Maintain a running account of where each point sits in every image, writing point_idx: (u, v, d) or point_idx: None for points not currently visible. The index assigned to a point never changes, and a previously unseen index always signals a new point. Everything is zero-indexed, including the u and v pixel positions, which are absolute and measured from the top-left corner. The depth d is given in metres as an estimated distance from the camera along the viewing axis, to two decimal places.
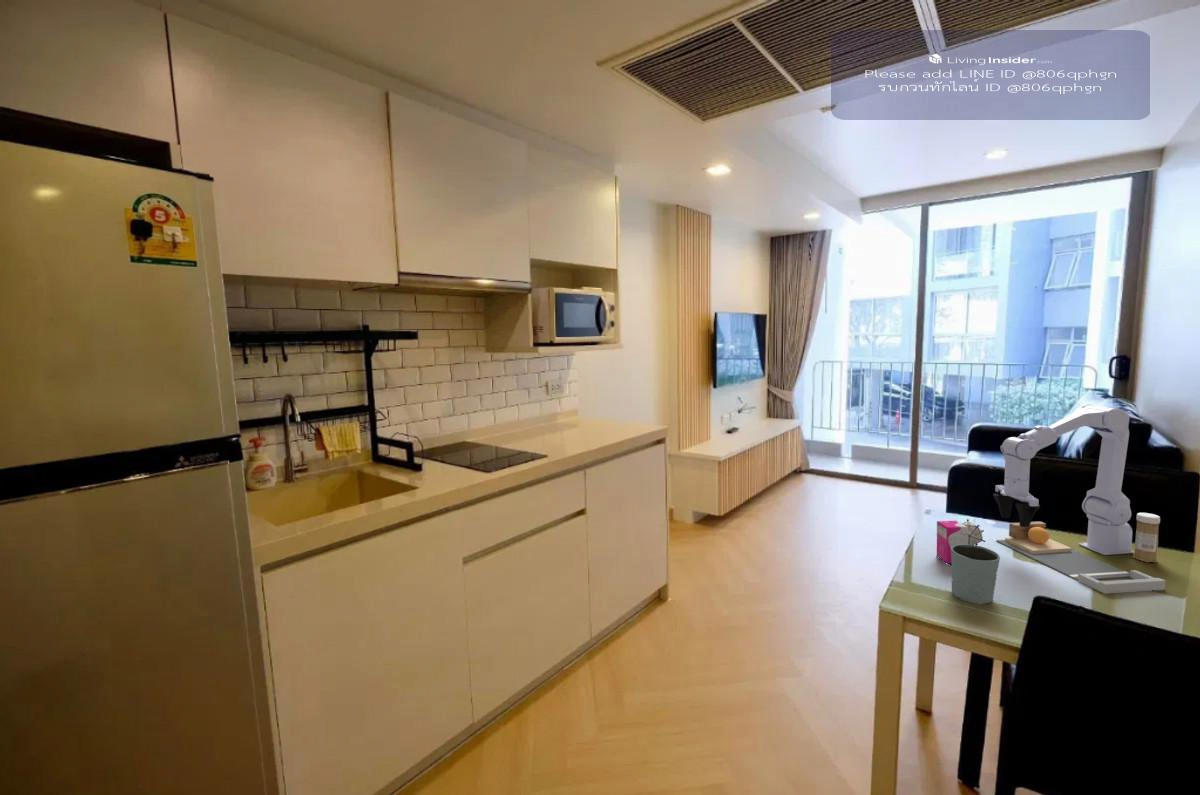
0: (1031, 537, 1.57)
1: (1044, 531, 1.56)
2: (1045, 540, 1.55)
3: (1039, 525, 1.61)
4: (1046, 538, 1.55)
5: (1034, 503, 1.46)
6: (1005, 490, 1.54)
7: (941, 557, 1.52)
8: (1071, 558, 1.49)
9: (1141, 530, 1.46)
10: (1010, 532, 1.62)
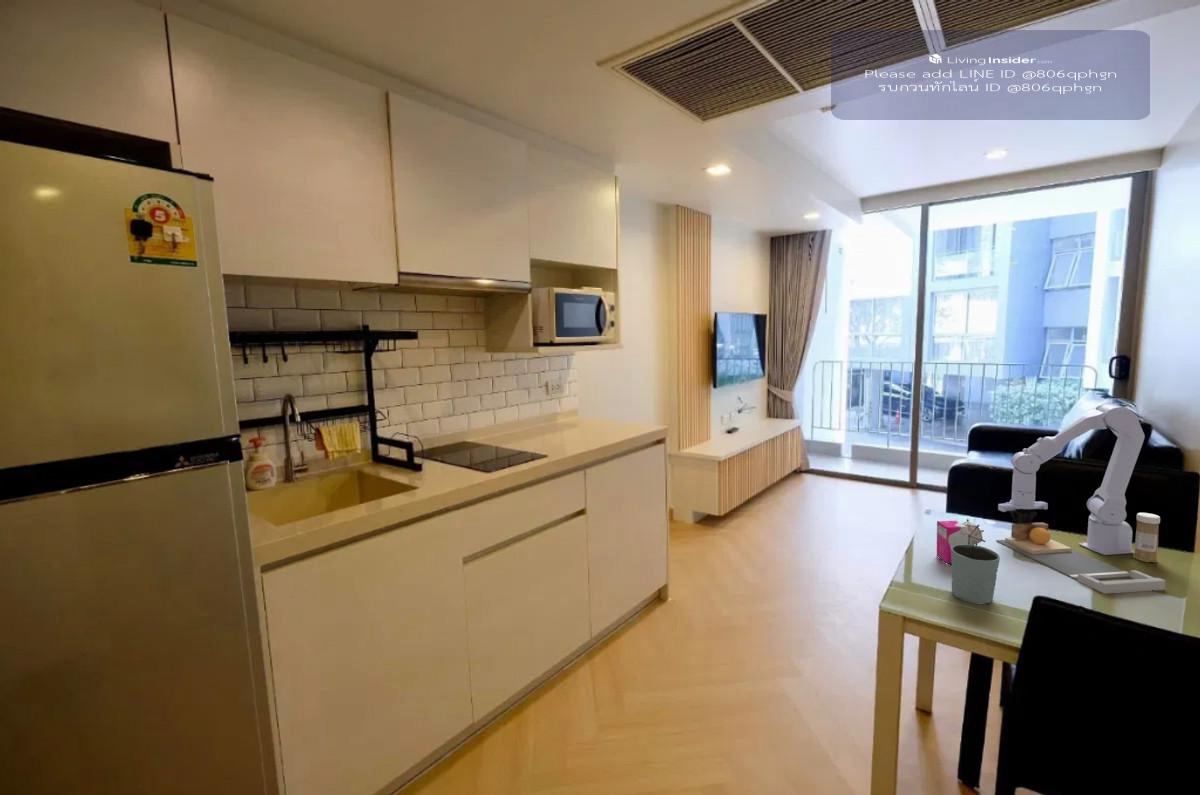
0: (1032, 538, 1.57)
1: (1046, 533, 1.55)
2: (1046, 542, 1.55)
3: (1042, 526, 1.60)
4: (1047, 540, 1.55)
5: (1000, 508, 1.63)
6: None
7: (941, 557, 1.52)
8: (1071, 558, 1.49)
9: (1141, 530, 1.46)
10: (1012, 533, 1.61)
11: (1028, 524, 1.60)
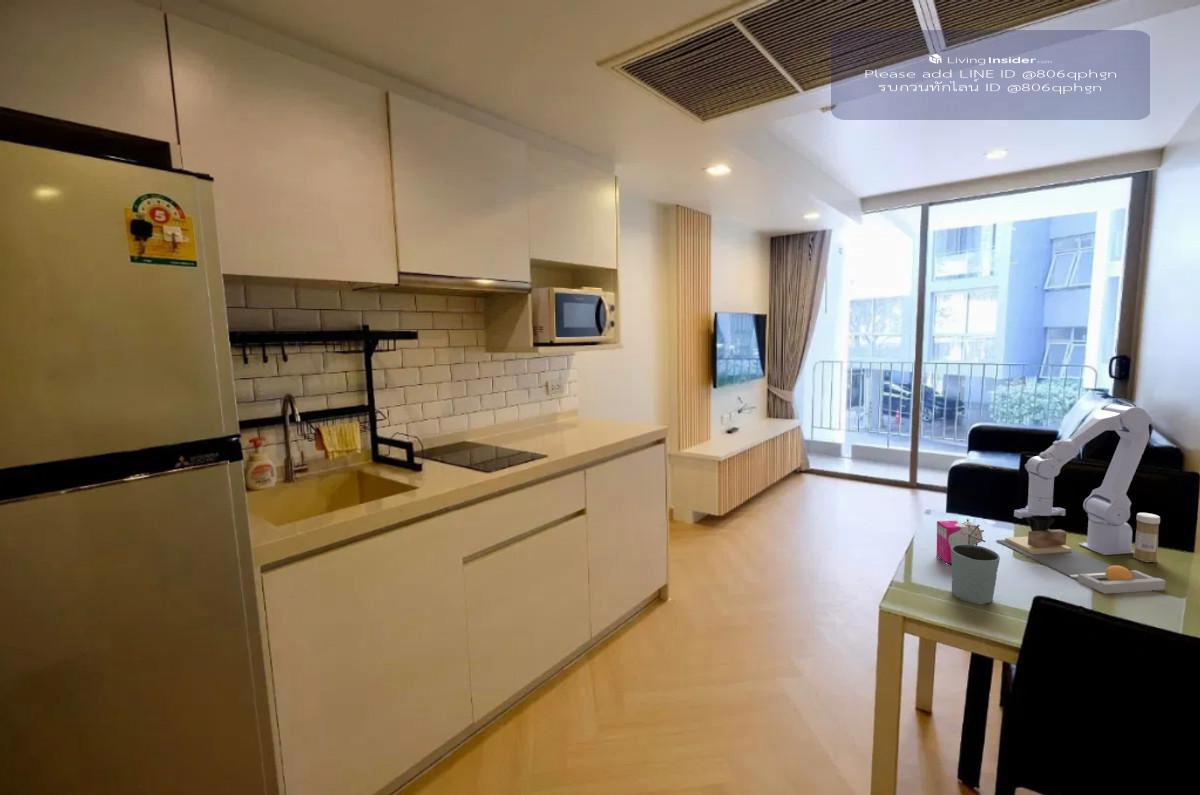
0: (1109, 573, 1.34)
1: None
2: None
3: (1060, 533, 1.54)
4: None
5: (1016, 514, 1.57)
6: None
7: (941, 557, 1.52)
8: (1071, 558, 1.49)
9: (1141, 530, 1.46)
10: (1029, 541, 1.55)
11: (1046, 532, 1.54)
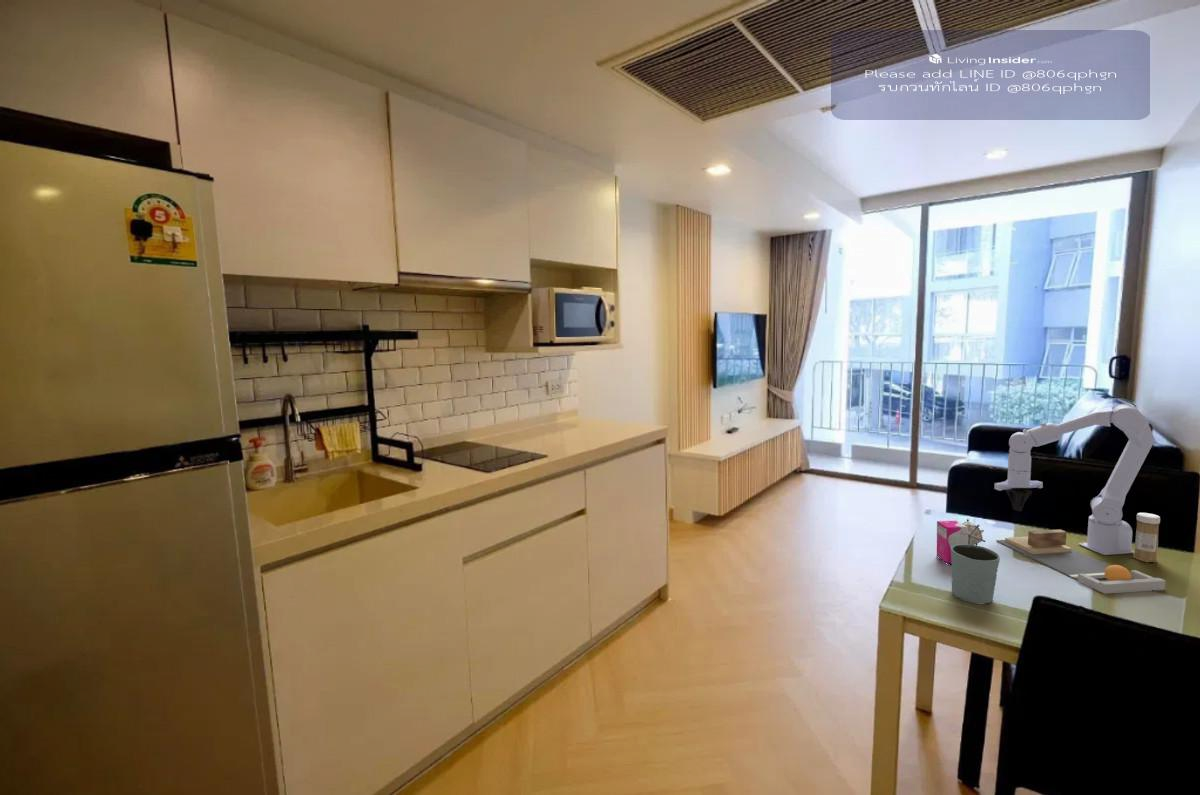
0: (1108, 573, 1.35)
1: None
2: None
3: (1060, 533, 1.54)
4: None
5: (996, 487, 1.66)
6: None
7: (941, 557, 1.52)
8: (1071, 558, 1.49)
9: (1141, 530, 1.46)
10: (1029, 541, 1.55)
11: (1046, 532, 1.54)
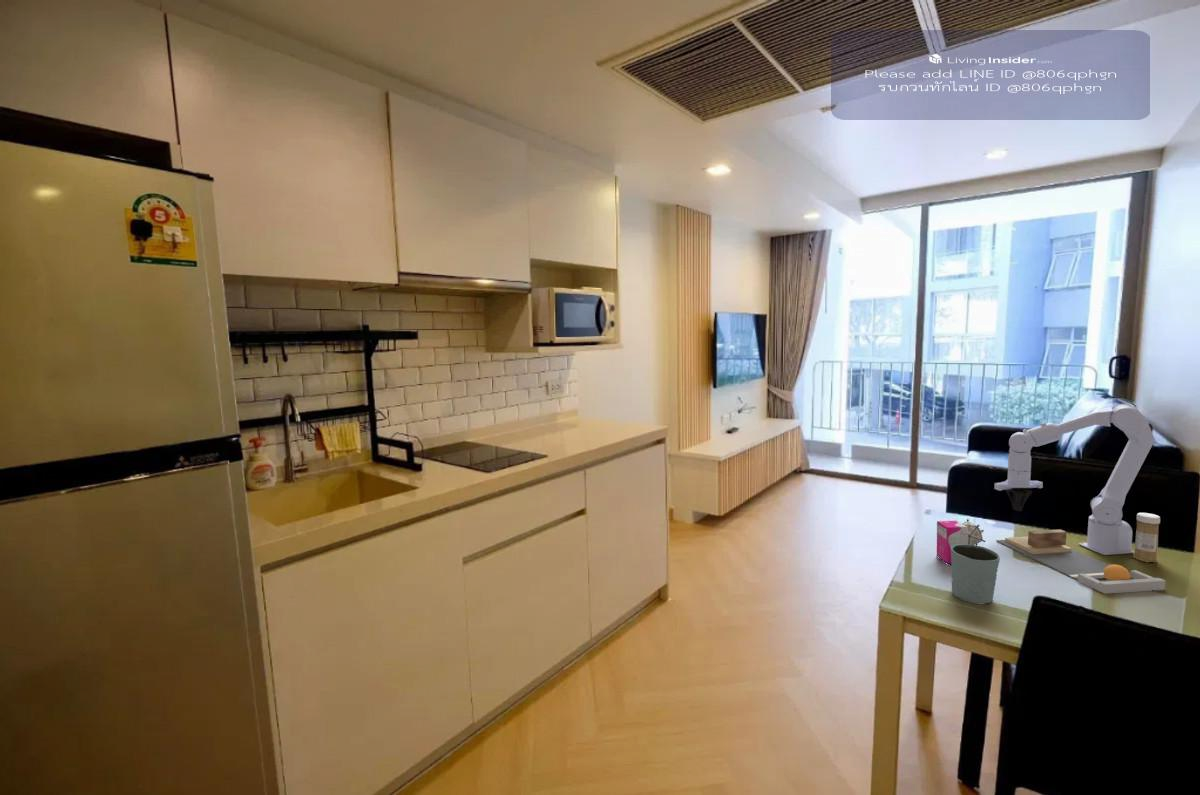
0: (1107, 572, 1.35)
1: None
2: None
3: (1060, 533, 1.54)
4: None
5: (996, 487, 1.66)
6: None
7: (941, 557, 1.52)
8: (1071, 558, 1.49)
9: (1141, 530, 1.46)
10: (1029, 541, 1.55)
11: (1046, 532, 1.54)
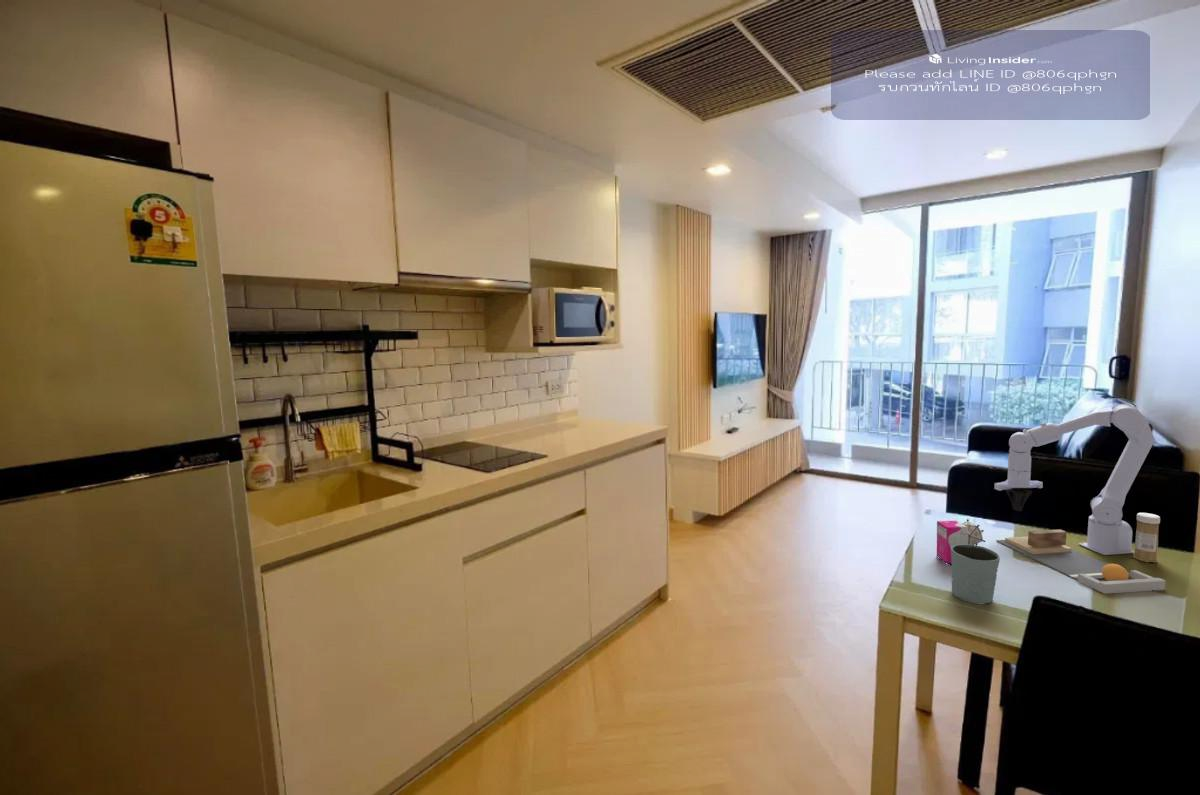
0: (1105, 572, 1.35)
1: None
2: None
3: (1060, 533, 1.54)
4: None
5: (996, 487, 1.66)
6: None
7: (941, 557, 1.52)
8: (1071, 558, 1.49)
9: (1141, 530, 1.46)
10: (1029, 541, 1.55)
11: (1046, 532, 1.54)
